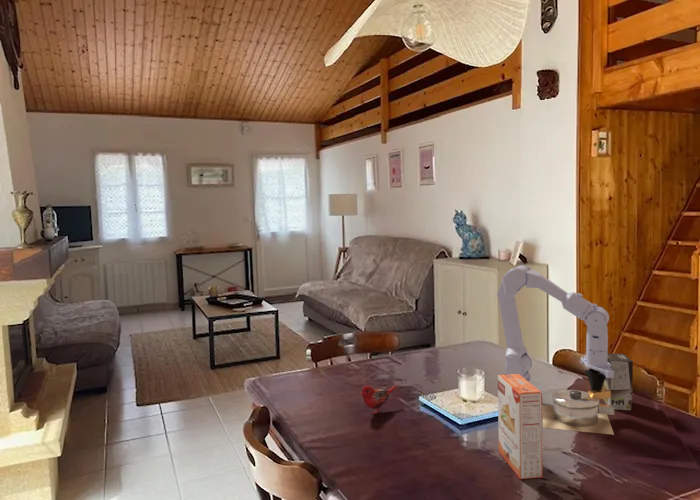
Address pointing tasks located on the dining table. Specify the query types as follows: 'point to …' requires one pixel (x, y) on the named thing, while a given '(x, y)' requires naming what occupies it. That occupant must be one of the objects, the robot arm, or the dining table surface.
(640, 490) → the dining table surface
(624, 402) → the coffee box
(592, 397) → the lid with handle
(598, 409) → the pot
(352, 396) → the dining table surface
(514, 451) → the cracker box
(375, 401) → the decorative bird figurine
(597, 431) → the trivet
